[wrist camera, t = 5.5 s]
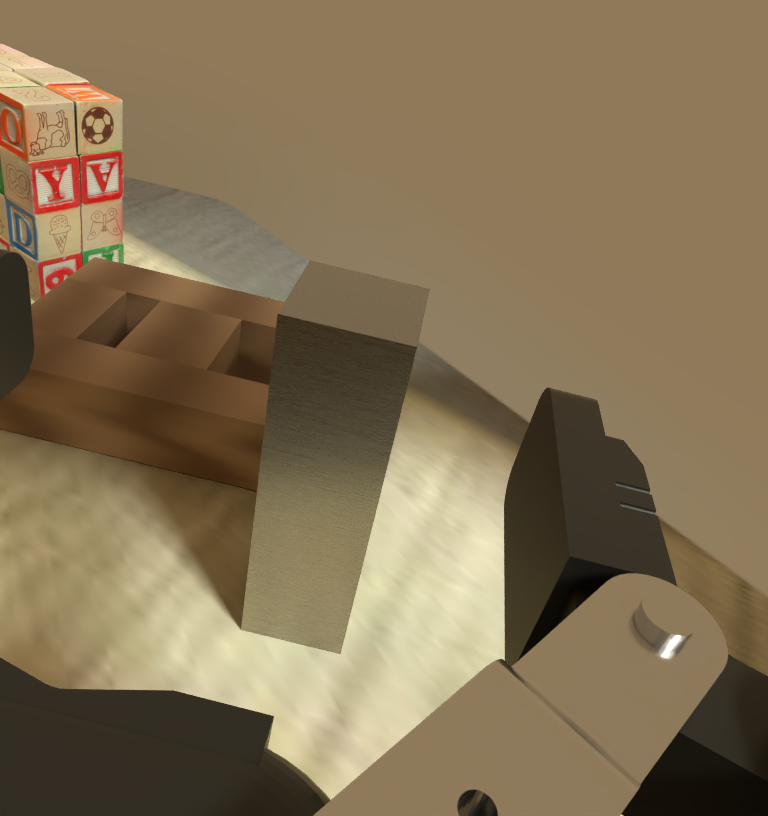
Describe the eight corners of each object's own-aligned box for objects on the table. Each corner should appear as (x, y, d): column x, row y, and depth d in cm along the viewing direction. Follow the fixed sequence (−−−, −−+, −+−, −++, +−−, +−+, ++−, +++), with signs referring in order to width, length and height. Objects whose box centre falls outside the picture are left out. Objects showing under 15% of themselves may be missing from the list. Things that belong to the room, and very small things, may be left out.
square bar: (358, 577, 31) (429, 289, 23) (340, 653, 27) (416, 346, 20) (269, 556, 31) (310, 260, 23) (241, 629, 28) (277, 313, 20)
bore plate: (377, 383, 44) (389, 327, 42) (340, 511, 34) (353, 446, 32) (97, 316, 44) (94, 256, 42) (-21, 423, 34) (-33, 353, 32)
